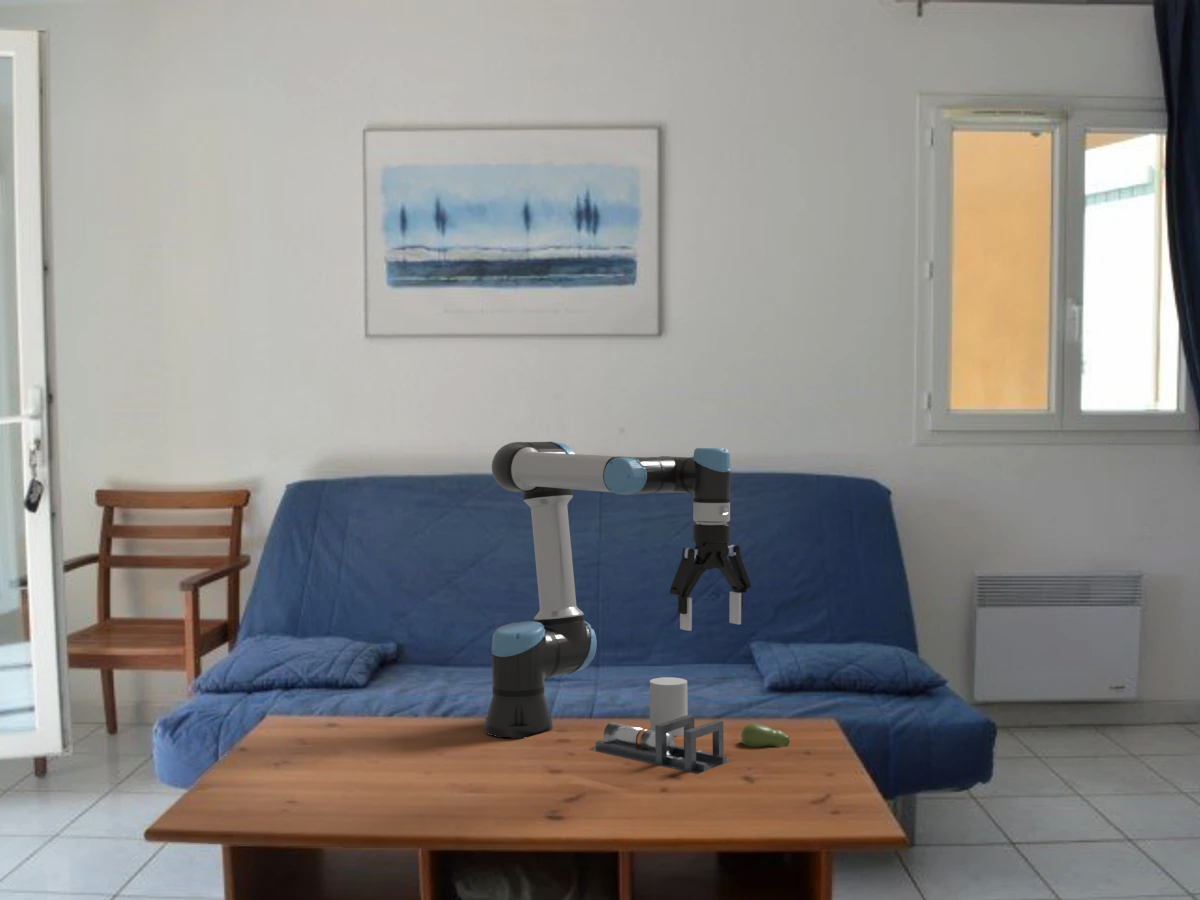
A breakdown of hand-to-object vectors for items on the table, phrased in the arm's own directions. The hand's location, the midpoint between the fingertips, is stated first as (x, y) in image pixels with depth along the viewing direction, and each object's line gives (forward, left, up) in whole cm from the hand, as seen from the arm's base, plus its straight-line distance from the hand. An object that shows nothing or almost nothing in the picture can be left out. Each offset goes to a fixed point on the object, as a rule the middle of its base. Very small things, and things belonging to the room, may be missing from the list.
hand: (710, 626), depth 224 cm
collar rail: (-6, -10, -26) cm, 28 cm away
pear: (+7, +10, -26) cm, 29 cm away
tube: (-11, -10, -25) cm, 29 cm away
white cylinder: (-15, +6, -26) cm, 31 cm away
